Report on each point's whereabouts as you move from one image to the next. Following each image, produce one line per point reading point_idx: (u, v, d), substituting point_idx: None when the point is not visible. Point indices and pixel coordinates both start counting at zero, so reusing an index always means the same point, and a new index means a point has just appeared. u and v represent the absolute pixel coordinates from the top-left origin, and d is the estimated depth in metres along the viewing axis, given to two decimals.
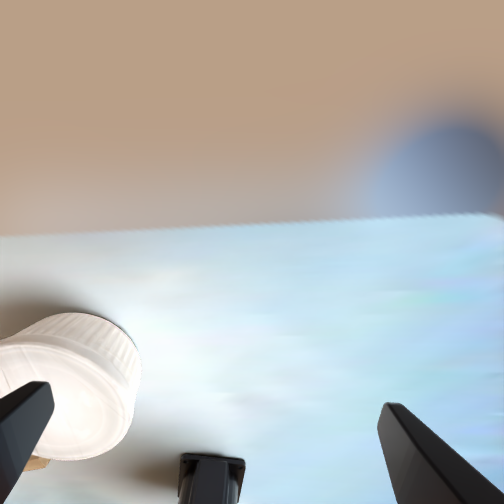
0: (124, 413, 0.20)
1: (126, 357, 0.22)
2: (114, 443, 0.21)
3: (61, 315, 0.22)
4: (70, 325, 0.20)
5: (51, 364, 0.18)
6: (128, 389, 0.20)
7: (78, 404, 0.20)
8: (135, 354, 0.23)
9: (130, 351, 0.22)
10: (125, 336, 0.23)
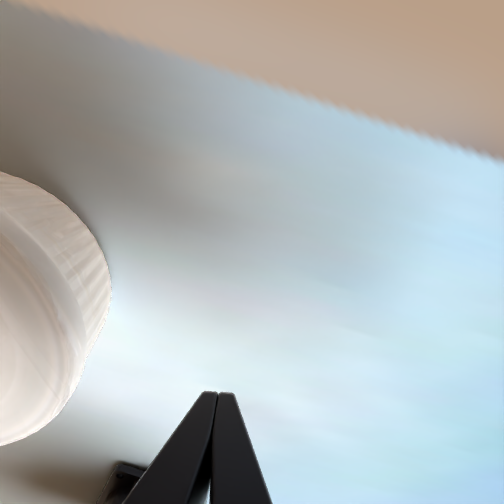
0: (59, 386, 0.10)
1: (94, 284, 0.12)
2: (19, 436, 0.11)
3: None
4: (4, 187, 0.10)
5: None
6: (83, 342, 0.10)
7: None
8: (107, 287, 0.13)
9: (102, 278, 0.12)
10: (100, 251, 0.13)
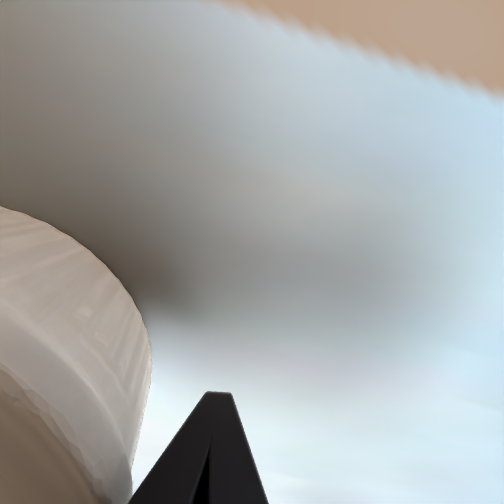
0: None
1: (136, 376, 0.08)
2: None
3: None
4: None
5: None
6: (128, 497, 0.06)
7: None
8: (148, 366, 0.09)
9: (143, 358, 0.08)
10: (139, 315, 0.09)
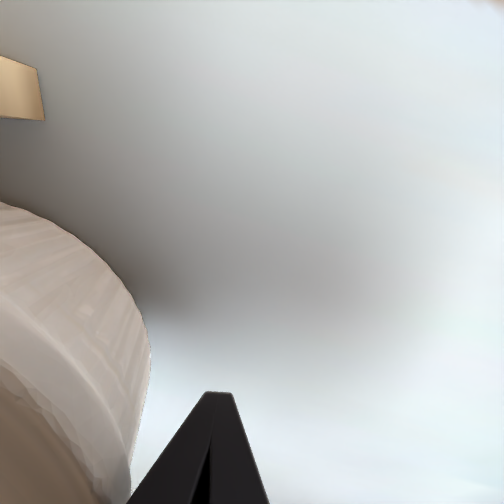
0: None
1: (135, 375, 0.08)
2: None
3: None
4: None
5: None
6: (127, 497, 0.06)
7: None
8: (148, 366, 0.09)
9: (143, 358, 0.08)
10: (139, 314, 0.09)
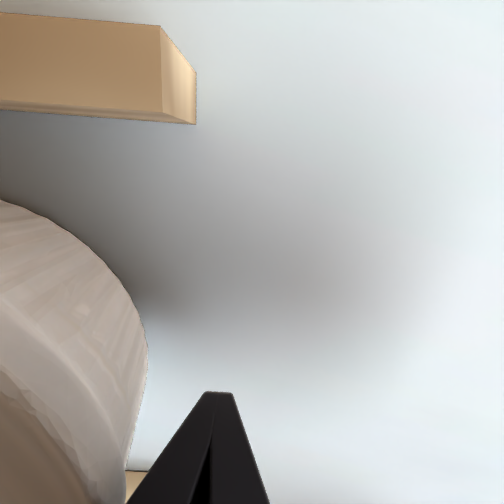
0: None
1: (132, 375, 0.07)
2: None
3: None
4: None
5: None
6: (122, 499, 0.06)
7: None
8: (145, 366, 0.09)
9: (140, 358, 0.08)
10: (136, 314, 0.09)
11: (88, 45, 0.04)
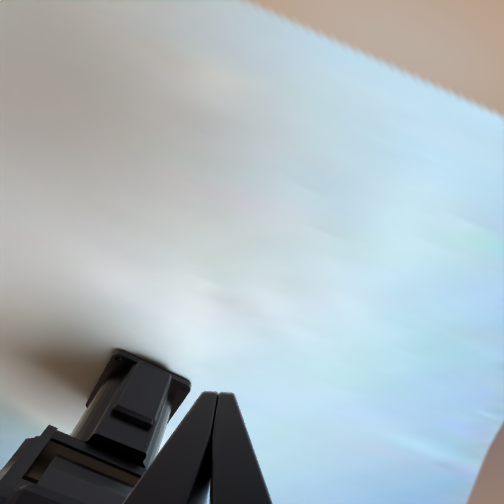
0: None
1: None
2: None
3: None
4: None
5: None
6: None
7: None
8: None
9: None
10: None
11: None
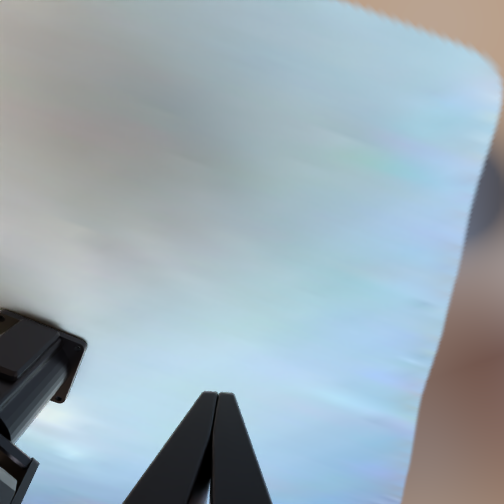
0: None
1: None
2: None
3: None
4: None
5: None
6: None
7: None
8: None
9: None
10: None
11: None
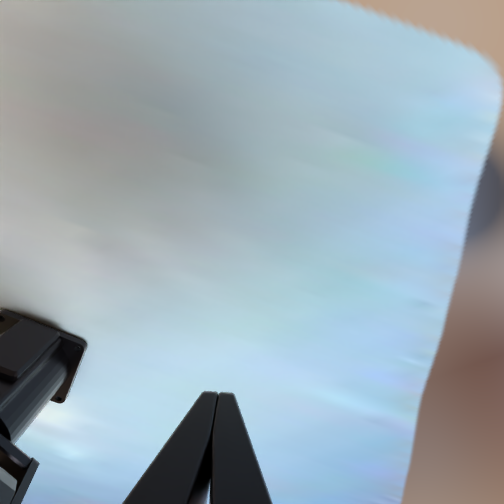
0: None
1: None
2: None
3: None
4: None
5: None
6: None
7: None
8: None
9: None
10: None
11: None
